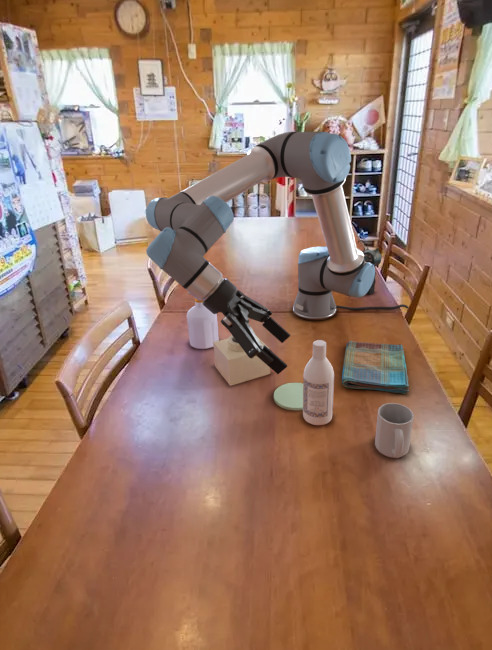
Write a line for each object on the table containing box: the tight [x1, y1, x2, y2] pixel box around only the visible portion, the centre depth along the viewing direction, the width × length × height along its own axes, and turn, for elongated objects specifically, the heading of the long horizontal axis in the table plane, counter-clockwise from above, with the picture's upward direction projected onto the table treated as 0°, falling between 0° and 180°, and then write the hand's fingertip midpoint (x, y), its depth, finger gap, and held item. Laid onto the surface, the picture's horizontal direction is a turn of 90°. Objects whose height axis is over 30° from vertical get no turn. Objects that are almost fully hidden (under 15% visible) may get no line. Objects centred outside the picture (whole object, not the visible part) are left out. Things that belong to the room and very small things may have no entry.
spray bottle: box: [186, 297, 220, 350], centre depth 136 cm, size 9×9×25 cm
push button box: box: [213, 334, 271, 387], centre depth 125 cm, size 12×11×10 cm
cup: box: [374, 402, 415, 459], centre depth 95 cm, size 7×10×9 cm
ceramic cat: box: [356, 239, 382, 295], centre depth 176 cm, size 20×6×20 cm, turn 46°
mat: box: [273, 382, 303, 412], centre depth 115 cm, size 11×11×1 cm
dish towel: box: [341, 340, 410, 395], centre depth 126 cm, size 17×23×2 cm
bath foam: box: [302, 339, 335, 426], centre depth 103 cm, size 7×7×20 cm
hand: (284, 353), depth 101 cm, fingers open, 13 cm apart
